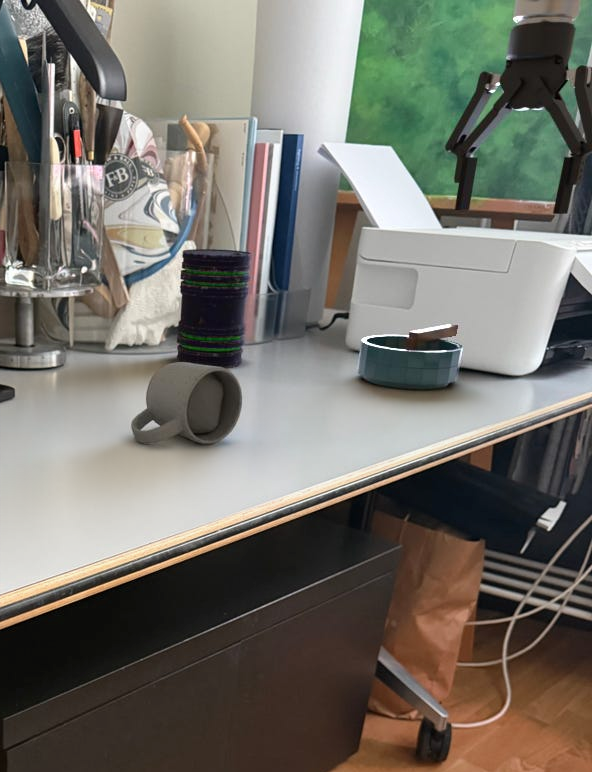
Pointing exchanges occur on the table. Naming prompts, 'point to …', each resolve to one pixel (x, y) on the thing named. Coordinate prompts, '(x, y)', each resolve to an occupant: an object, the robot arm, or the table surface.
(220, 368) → the ceramic mug
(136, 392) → the table surface
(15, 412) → the table surface
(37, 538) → the table surface
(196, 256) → the storage jar
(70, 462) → the table surface
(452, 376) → the bowl
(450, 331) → the wooden crane toy
